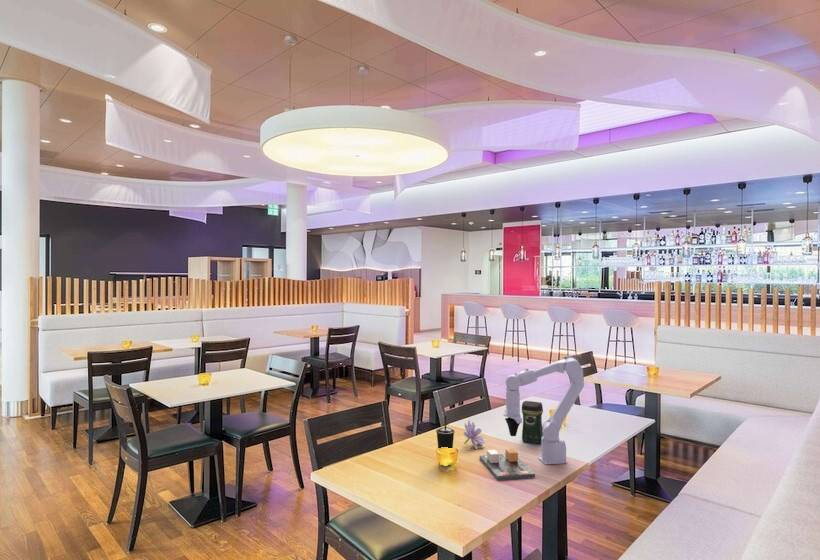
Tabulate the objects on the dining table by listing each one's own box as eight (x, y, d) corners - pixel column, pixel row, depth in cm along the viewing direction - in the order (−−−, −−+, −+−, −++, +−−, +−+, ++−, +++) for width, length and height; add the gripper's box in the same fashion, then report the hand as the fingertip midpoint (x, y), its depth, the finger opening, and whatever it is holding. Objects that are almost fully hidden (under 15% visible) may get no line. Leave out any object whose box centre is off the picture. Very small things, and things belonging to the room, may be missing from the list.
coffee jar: (545, 440, 225) (544, 401, 225) (540, 445, 218) (540, 404, 218) (524, 437, 230) (524, 398, 230) (519, 442, 223) (519, 402, 223)
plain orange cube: (513, 456, 199) (513, 448, 199) (518, 461, 194) (517, 452, 194) (505, 457, 199) (505, 449, 199) (509, 461, 194) (509, 453, 194)
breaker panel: (513, 456, 204) (513, 453, 204) (535, 477, 182) (535, 473, 182) (479, 459, 201) (479, 455, 201) (497, 480, 180) (497, 475, 180)
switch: (495, 458, 198) (495, 449, 198) (499, 462, 193) (499, 453, 193) (487, 458, 197) (486, 450, 197) (490, 463, 192) (490, 454, 192)
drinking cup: (449, 469, 191) (449, 418, 191) (432, 465, 195) (432, 416, 195) (457, 463, 197) (457, 414, 197) (441, 459, 201) (441, 411, 201)
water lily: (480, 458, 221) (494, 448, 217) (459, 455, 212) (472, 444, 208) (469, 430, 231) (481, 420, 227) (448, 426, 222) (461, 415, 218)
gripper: (498, 399, 209) (498, 430, 209) (510, 408, 195) (510, 441, 195) (513, 399, 211) (513, 430, 210) (526, 407, 196) (526, 440, 196)
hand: (513, 435), depth 203 cm, fingers closed
